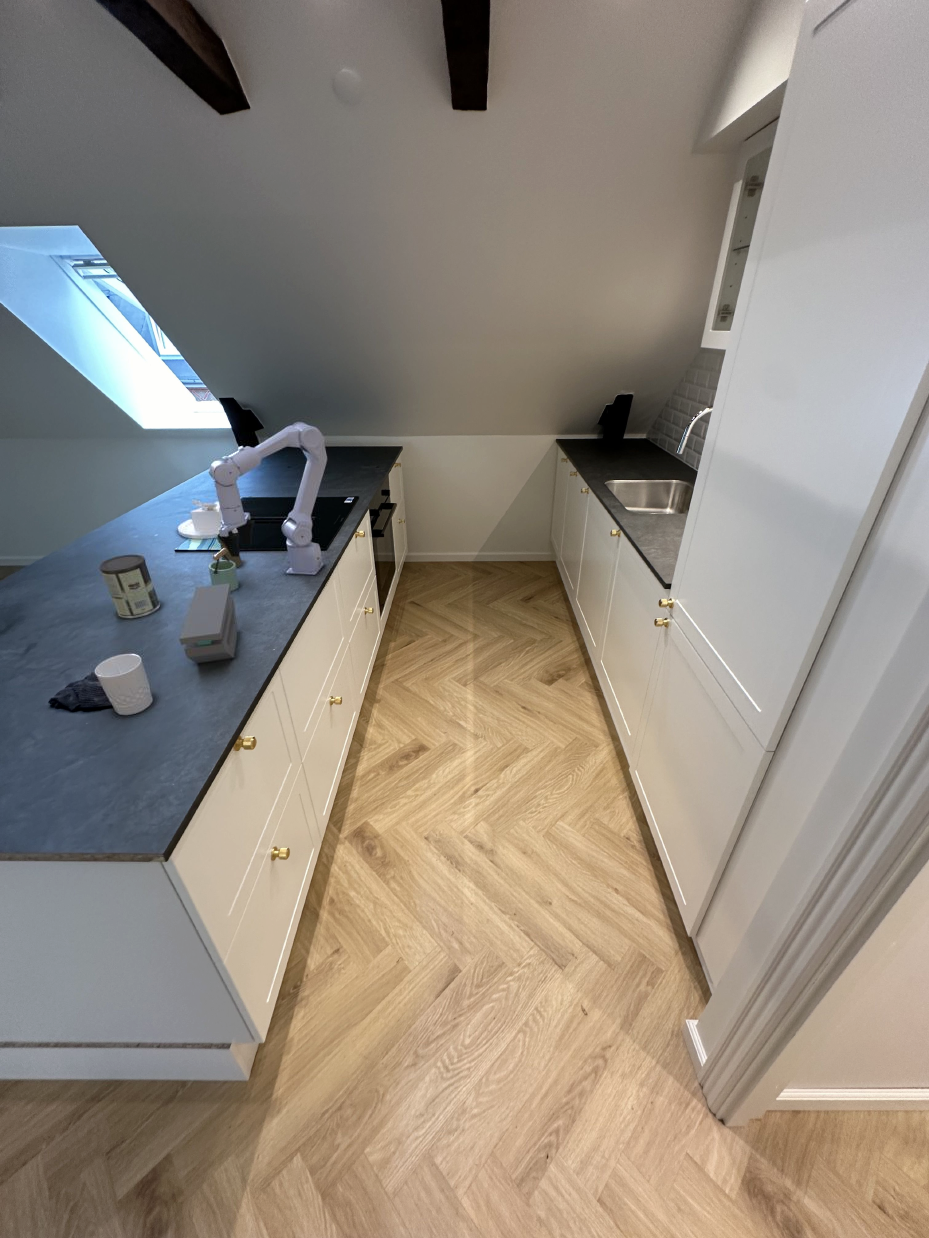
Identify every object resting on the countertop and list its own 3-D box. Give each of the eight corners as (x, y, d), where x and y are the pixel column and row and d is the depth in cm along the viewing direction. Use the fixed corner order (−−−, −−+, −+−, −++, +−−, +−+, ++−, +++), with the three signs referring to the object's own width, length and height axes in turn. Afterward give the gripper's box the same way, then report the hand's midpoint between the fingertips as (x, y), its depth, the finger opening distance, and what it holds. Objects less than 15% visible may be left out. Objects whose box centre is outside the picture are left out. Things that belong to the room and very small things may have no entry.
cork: (235, 569, 162) (227, 536, 157) (218, 567, 163) (210, 535, 158) (246, 561, 167) (239, 530, 162) (229, 560, 168) (222, 528, 163)
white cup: (124, 693, 108) (107, 654, 103) (162, 691, 109) (148, 652, 104) (104, 718, 101) (85, 678, 96) (145, 716, 102) (129, 676, 97)
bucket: (243, 582, 154) (239, 548, 149) (230, 594, 147) (224, 559, 142) (221, 579, 155) (215, 544, 149) (206, 591, 147) (200, 556, 142)
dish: (234, 539, 185) (226, 508, 179) (165, 538, 185) (156, 508, 179) (258, 516, 206) (252, 489, 200) (197, 516, 206) (189, 488, 201)
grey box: (207, 624, 133) (196, 587, 127) (239, 620, 135) (229, 583, 129) (192, 680, 112) (179, 638, 107) (231, 674, 114) (219, 633, 109)
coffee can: (140, 598, 145) (124, 552, 138) (168, 603, 142) (153, 557, 135) (108, 615, 137) (89, 567, 130) (137, 621, 134) (119, 572, 127)
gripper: (229, 497, 148) (240, 541, 155) (203, 513, 136) (216, 560, 143) (253, 498, 148) (262, 542, 155) (228, 514, 135) (240, 561, 142)
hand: (241, 551), depth 149 cm, fingers open, 7 cm apart
